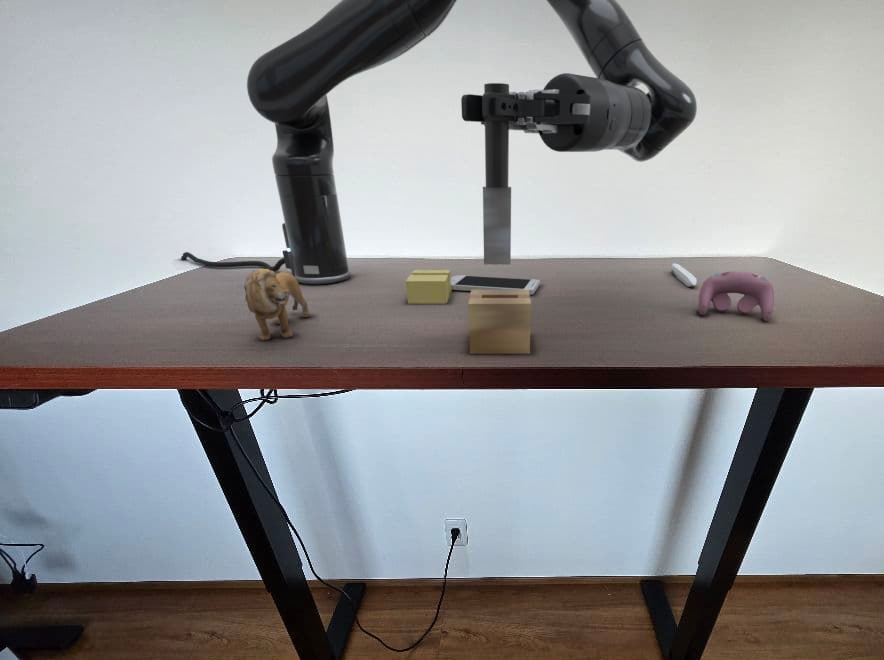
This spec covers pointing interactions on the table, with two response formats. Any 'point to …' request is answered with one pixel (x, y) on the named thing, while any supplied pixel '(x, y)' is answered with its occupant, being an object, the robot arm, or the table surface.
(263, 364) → the table surface
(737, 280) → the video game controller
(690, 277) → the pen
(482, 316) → the knife block
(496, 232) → the knife
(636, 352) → the table surface
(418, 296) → the butter
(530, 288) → the smartphone
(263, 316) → the lion figurine
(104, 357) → the table surface
